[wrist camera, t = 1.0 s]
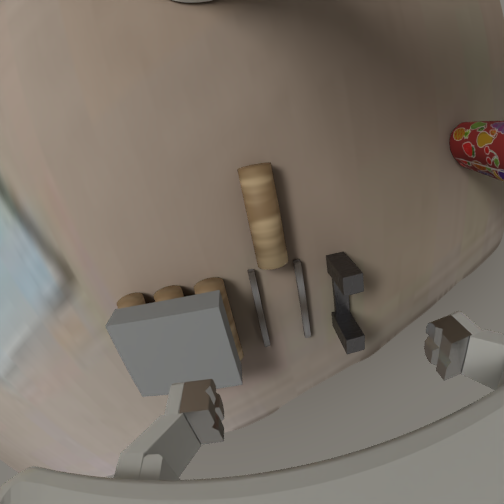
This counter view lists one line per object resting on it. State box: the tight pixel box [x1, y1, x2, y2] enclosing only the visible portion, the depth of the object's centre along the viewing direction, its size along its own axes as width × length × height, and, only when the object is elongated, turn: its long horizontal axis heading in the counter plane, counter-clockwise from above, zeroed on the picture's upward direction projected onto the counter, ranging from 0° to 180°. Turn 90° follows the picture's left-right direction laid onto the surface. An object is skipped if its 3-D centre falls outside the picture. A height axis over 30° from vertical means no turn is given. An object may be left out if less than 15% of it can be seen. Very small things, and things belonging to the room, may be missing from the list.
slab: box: [106, 290, 242, 397], centre depth 38 cm, size 12×14×4 cm
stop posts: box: [326, 252, 365, 354], centre depth 40 cm, size 11×2×7 cm, turn 11°
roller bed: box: [117, 259, 311, 361], centre depth 41 cm, size 12×25×4 cm, turn 101°
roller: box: [238, 163, 288, 270], centre depth 37 cm, size 12×4×4 cm, turn 11°
